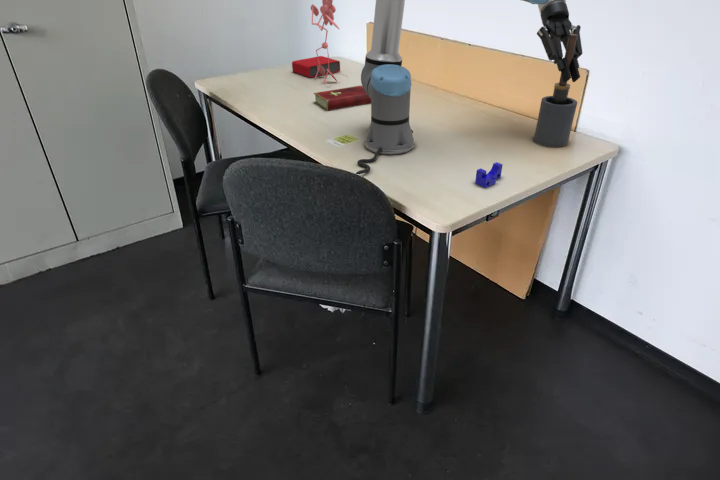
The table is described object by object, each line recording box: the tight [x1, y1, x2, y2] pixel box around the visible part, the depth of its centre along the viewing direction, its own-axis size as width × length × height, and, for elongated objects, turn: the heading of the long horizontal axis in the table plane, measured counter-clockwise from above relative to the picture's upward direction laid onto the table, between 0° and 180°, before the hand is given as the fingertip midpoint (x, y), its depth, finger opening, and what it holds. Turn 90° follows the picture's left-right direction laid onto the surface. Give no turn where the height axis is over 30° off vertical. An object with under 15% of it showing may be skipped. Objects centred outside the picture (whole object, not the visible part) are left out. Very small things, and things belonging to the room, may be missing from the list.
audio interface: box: [291, 55, 341, 78], centre depth 229 cm, size 18×14×5 cm
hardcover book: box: [313, 84, 371, 112], centre depth 189 cm, size 12×21×4 cm, turn 118°
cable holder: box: [474, 161, 504, 189], centre depth 129 cm, size 8×4×4 cm, turn 127°
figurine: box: [310, 0, 349, 84], centre depth 210 cm, size 15×26×35 cm, turn 29°
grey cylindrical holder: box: [533, 95, 578, 148], centre depth 150 cm, size 10×10×13 cm
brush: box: [551, 34, 578, 105], centre depth 142 cm, size 4×4×22 cm
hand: (571, 79), depth 139 cm, fingers closed on brush, 2 cm apart
